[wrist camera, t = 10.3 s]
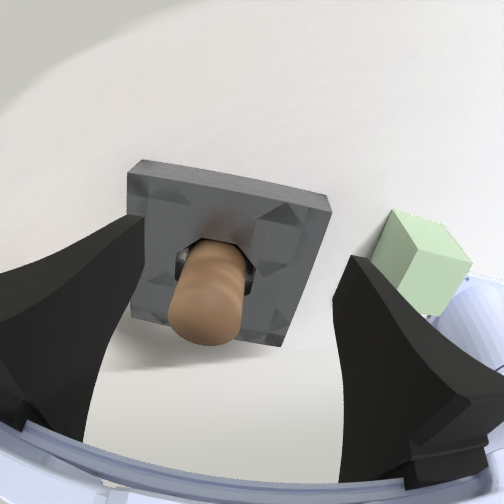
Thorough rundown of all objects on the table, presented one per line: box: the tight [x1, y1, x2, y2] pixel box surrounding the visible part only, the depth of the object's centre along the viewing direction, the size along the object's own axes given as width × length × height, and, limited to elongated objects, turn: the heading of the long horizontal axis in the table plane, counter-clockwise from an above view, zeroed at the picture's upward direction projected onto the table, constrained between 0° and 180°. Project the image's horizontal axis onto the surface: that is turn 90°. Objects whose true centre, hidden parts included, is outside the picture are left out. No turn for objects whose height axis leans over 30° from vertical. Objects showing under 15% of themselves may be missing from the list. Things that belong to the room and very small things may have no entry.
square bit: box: [370, 209, 473, 316], centre depth 20 cm, size 4×4×5 cm
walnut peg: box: [167, 238, 248, 346], centre depth 20 cm, size 4×4×7 cm
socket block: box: [127, 160, 332, 347], centre depth 22 cm, size 12×12×2 cm
